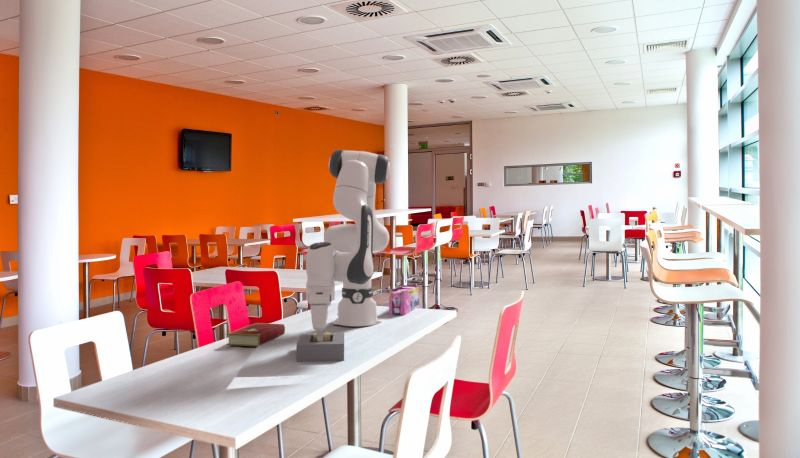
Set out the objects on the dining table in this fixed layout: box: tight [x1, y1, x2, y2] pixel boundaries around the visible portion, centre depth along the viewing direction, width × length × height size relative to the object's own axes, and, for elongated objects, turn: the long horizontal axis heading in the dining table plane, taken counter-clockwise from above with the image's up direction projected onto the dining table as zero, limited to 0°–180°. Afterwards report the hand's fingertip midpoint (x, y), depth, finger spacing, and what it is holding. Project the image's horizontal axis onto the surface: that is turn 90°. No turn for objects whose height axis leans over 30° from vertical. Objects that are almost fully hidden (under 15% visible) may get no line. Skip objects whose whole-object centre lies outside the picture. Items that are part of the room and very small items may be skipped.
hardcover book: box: [226, 322, 286, 348], centre depth 208 cm, size 12×21×4 cm, turn 167°
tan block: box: [313, 331, 331, 342], centre depth 183 cm, size 4×5×6 cm
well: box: [295, 331, 345, 363], centre depth 183 cm, size 18×14×5 cm
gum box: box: [388, 284, 420, 316], centre depth 252 cm, size 22×7×13 cm, turn 161°
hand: (320, 338), depth 183 cm, fingers open, 6 cm apart
